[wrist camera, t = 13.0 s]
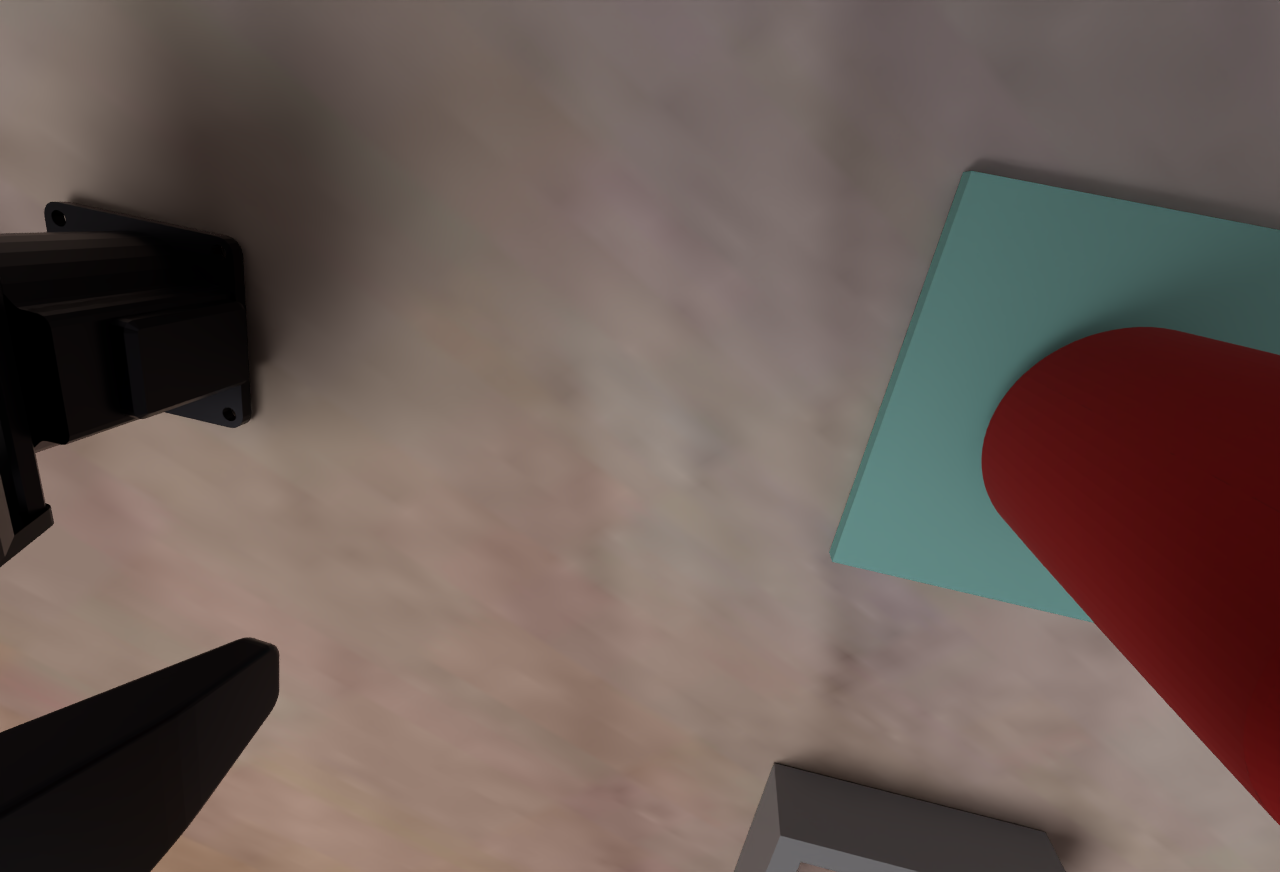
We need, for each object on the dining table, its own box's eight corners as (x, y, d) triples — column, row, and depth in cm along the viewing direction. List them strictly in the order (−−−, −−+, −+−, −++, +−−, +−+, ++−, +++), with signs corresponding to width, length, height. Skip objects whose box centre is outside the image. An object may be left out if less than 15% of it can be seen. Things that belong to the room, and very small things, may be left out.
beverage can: (1079, 579, 19) (1586, 1104, 8) (918, 451, 18) (1221, 827, 7) (1288, 421, 17) (2452, 850, 5) (1112, 267, 16) (2028, 394, 5)
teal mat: (829, 552, 20) (832, 561, 20) (963, 172, 16) (971, 170, 16) (1193, 636, 20) (1206, 648, 19) (1436, 263, 15) (1463, 265, 15)
